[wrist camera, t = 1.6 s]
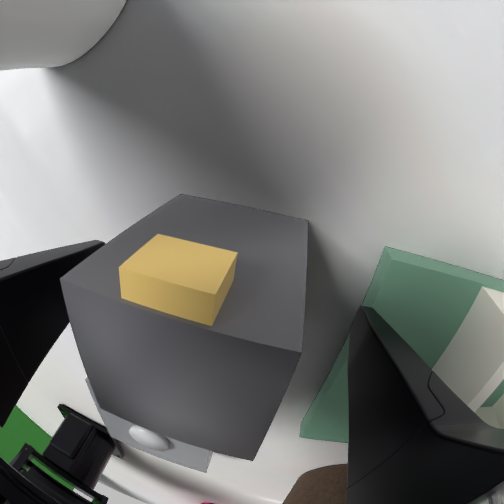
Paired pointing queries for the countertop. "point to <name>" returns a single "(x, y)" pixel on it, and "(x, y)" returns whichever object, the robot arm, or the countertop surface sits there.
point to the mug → (52, 30)
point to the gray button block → (154, 441)
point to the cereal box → (24, 439)
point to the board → (428, 337)
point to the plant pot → (320, 486)
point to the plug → (194, 321)
